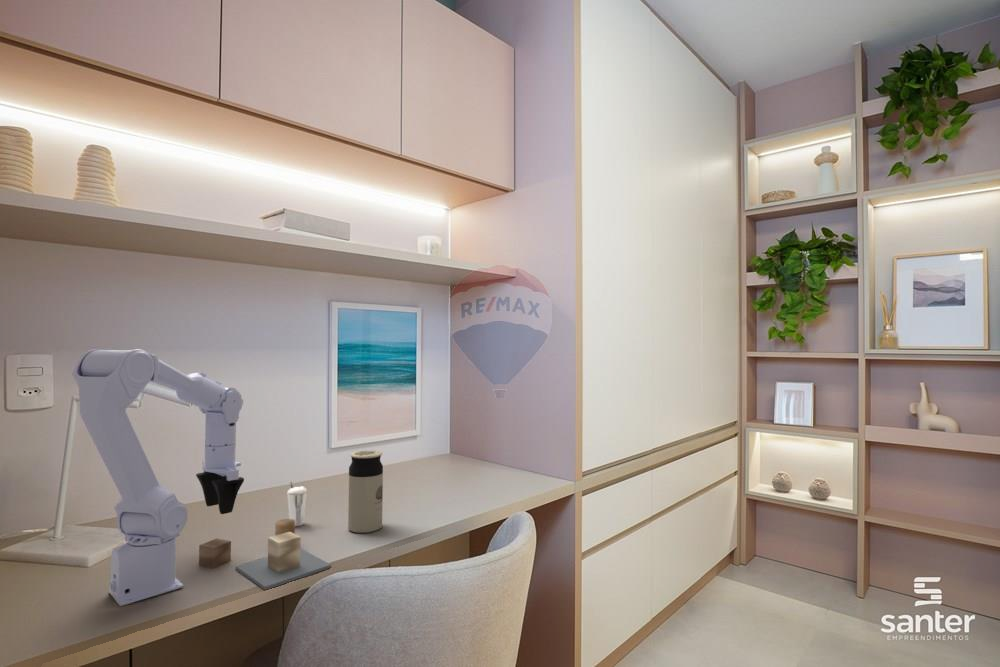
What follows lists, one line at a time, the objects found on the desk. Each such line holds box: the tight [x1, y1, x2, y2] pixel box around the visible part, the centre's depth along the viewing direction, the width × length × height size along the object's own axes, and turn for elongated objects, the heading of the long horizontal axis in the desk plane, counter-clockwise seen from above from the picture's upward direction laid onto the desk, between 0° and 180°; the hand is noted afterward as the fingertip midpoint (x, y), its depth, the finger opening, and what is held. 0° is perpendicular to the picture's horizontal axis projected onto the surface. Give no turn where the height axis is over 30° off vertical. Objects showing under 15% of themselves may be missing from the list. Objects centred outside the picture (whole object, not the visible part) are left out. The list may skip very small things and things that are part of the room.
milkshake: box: [286, 481, 308, 528], centre depth 128 cm, size 4×5×10 cm
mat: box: [235, 547, 332, 591], centre depth 102 cm, size 13×13×1 cm
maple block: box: [267, 532, 301, 572], centre depth 102 cm, size 4×4×6 cm
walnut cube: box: [198, 538, 232, 569], centre depth 105 cm, size 4×4×4 cm
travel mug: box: [347, 449, 384, 534], centre depth 125 cm, size 8×8×18 cm
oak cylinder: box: [274, 518, 296, 536], centre depth 114 cm, size 4×4×5 cm
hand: (219, 509), depth 109 cm, fingers open, 7 cm apart
